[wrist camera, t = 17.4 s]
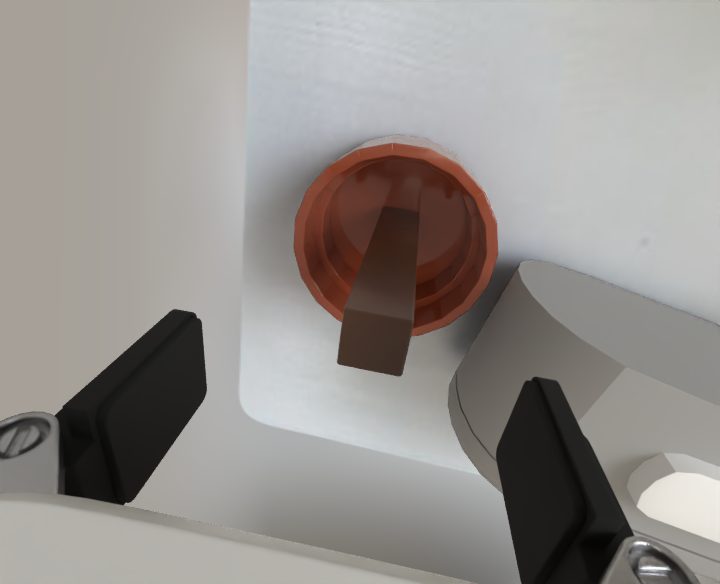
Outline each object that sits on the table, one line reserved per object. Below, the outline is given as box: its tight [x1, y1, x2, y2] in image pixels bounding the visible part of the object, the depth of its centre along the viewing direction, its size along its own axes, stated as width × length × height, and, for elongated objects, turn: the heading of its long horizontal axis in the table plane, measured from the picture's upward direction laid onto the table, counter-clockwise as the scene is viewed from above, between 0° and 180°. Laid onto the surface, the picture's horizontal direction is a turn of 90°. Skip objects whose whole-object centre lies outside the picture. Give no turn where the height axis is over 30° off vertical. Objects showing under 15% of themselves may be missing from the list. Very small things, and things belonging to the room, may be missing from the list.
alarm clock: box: [448, 260, 720, 583], centre depth 22 cm, size 21×10×13 cm, turn 71°
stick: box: [337, 206, 419, 376], centre depth 20 cm, size 2×2×14 cm
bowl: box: [294, 134, 498, 336], centre depth 24 cm, size 11×11×6 cm
